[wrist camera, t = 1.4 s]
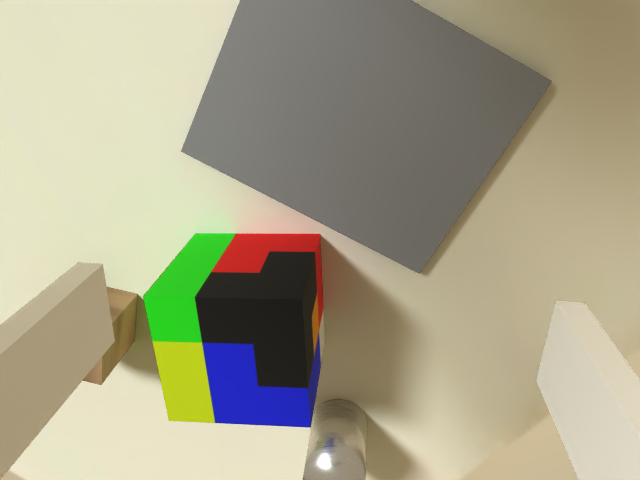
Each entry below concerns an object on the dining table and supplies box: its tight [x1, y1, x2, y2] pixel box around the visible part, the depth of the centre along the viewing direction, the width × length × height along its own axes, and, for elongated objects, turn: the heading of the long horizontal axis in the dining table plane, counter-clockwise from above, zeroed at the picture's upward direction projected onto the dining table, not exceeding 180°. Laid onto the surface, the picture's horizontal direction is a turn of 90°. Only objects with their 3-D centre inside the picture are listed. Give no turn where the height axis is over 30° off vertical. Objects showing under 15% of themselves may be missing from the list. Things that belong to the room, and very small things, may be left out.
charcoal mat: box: [181, 0, 552, 274], centre depth 35 cm, size 20×16×1 cm
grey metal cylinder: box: [303, 399, 367, 480], centre depth 44 cm, size 5×5×7 cm
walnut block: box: [83, 287, 138, 385], centre depth 42 cm, size 5×5×6 cm
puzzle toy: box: [143, 234, 325, 427], centre depth 38 cm, size 10×10×10 cm
